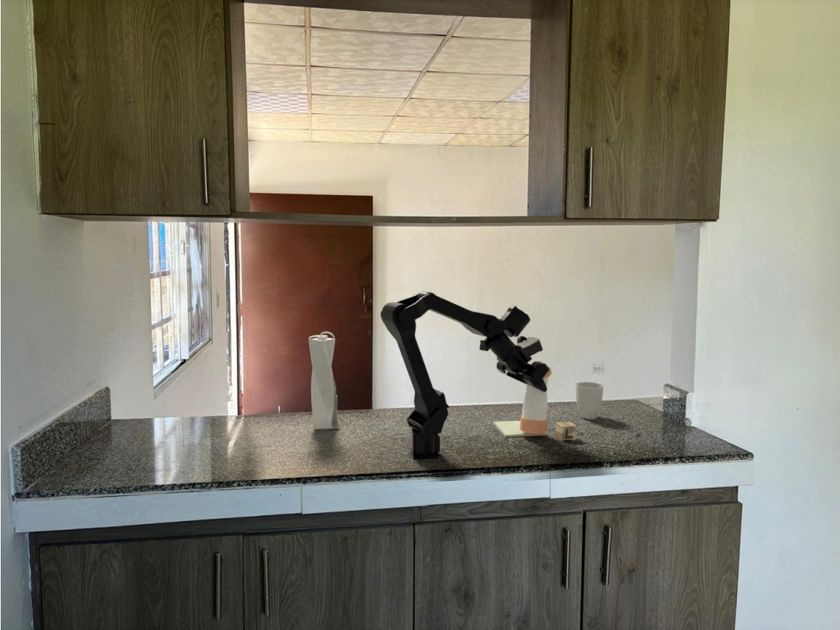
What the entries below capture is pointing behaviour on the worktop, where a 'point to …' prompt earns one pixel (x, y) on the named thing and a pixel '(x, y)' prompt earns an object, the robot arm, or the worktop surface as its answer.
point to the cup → (589, 399)
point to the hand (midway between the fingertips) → (539, 388)
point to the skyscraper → (323, 383)
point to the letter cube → (565, 431)
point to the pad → (512, 429)
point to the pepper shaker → (535, 409)
